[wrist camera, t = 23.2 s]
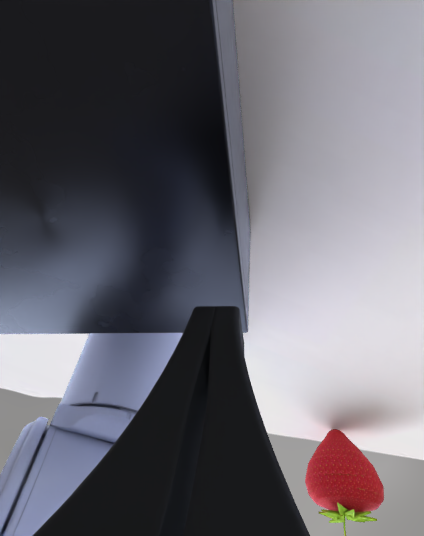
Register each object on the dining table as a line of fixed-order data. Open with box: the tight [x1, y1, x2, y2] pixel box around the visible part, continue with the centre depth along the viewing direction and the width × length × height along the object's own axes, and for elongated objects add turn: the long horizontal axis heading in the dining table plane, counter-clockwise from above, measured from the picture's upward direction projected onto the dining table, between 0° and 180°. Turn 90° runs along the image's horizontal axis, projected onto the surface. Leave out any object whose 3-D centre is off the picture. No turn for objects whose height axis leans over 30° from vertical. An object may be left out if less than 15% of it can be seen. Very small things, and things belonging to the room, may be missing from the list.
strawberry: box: [305, 429, 384, 536], centre depth 35 cm, size 6×8×10 cm
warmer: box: [0, 0, 250, 334], centre depth 15 cm, size 14×14×8 cm
